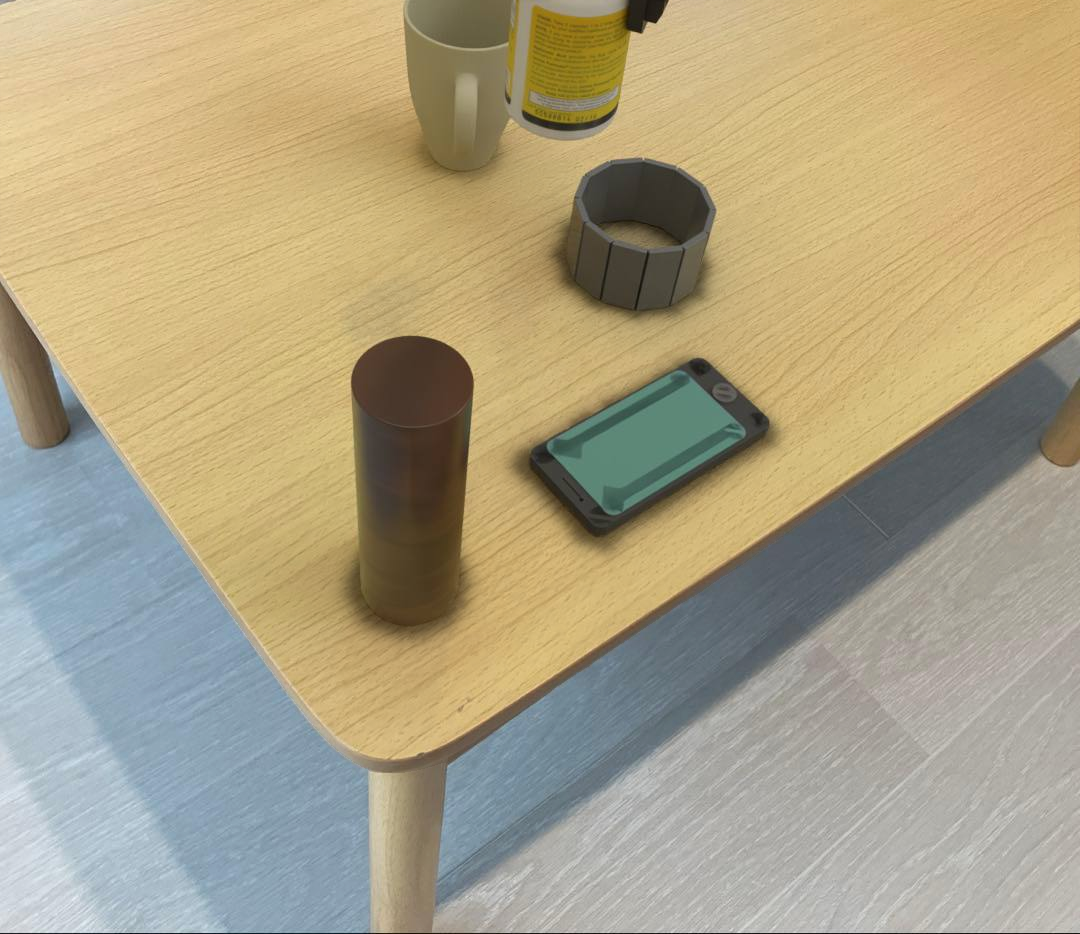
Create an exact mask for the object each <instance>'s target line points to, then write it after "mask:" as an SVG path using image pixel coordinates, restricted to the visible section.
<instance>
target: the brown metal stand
mask: <svg viewBox="0 0 1080 934" xmlns="http://www.w3.org/2000/svg"><path fill="white" fill-rule="evenodd" d="M474 390H475V380H474V374H473V371H472V369H471V366H470V364H469V363H468V360H466V359H465V357H464V356H463V355H462V354H461V353H460V352H459V351H457V349H455V348H454V347H453V346H451V345H449V344H448V343H446V342H443V341H441V340H438V339H436V338H432V337H429V336H422V335H400V336H394V337H391V338H386V339H385V340H381V341H379V342H377V343H376V344H374V345H372V346H371V347H369V348H368V349H367V350H365V352H363V353H362V354H361V355H360V357H359V358H358V360H357V361H356V363H355V364H354V367H353V369H352V372H351V376H350V395H351V415H352V416H351V417H352V433H353V435H352V437H353V453H354V474H355V493H356V495H355V496H356V497H355V498H356V514H357V515H356V516H357V517H356V518H357V534H358V536H357V537H358V554H359V555H358V556H359V574H360V575H359V576H360V588H361V590H360V591H361V593H362V597H363V599H364V601H365V603H366V605H367V606H368V607H369V608H370V609H371V611H372V612H374V614H376V615H377V616H379V617H380V618H381V619H384V620H385V621H388V622H390V623H393V624H397V625H404V626H416V625H421V624H425V623H428V622H431V621H433V620H436V619H437V618H439V617H440V616H442V615H443V614H444V613H445V612H446V611H447V610H448V609H449V608H450V607H451V605H452V604H453V602H454V601H455V598H456V596H457V594H458V591H459V579H460V569H461V568H460V567H461V555H462V541H463V529H464V518H465V506H466V505H465V504H466V491H467V478H468V468H469V467H468V466H469V453H470V442H471V427H472V414H473V403H474V402H473V401H474Z"/></svg>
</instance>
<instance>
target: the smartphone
mask: <svg viewBox="0 0 1080 934" xmlns="http://www.w3.org/2000/svg"><path fill="white" fill-rule="evenodd" d="M770 423H771V421H770V419H769V418H768V416H767V415H765V413H764V412H762V411H761V410H760V409H759V408H758V407H757V406H756V405H755V404H754V403H753V402H752V401H751V400H750V399H748V398H747V397H746V395H744V394H743V393H742V392H741V391H740V390H739V389H738V388H736V387H735V385H734V384H732V383H731V382H730V381H729V380H728V379H727V377H725V376H724V375H723V374H722V373H721V372H720V371H718V369H716V368H715V367H714V365H712V364H711V363H710V361H707V359H705V358H702V357H694V358H692V359H690V360H689V361H686V362H685V363H683V364H681V365H679V366H678V367H676V368H674V369H672V370H671V371H669V372H667V373H665V374H664V375H662V376H660V377H658V378H655V379H654V380H653V381H651V382H649V383H647V384H645V385H644V386H641V387H640V388H638V389H636V390H634V391H632V392H631V393H629V394H627V395H625V396H624V397H622V398H620V399H618V400H616V401H614V402H612V403H610V404H608V405H607V406H605V407H603V408H601V409H599V410H598V411H596V412H594V413H592V415H590V416H587V417H585V418H582V420H579V421H578V422H576V423H574V424H572V425H571V426H569V427H567V428H566V429H563V430H562V431H560V432H558V433H557V434H555V435H553V436H550V437H549V438H548V439H546V440H545V441H542V442H541V443H539V444H536V445H535V446H534V447H532V449H530V455H529V461H528V465H529V468H530V469H531V470H532V471H533V472H534V473H535V474H536V476H538V478H539V479H541V481H542V482H543V483H544V484H545V486H547V488H548V489H549V490H550V491H551V492H552V493H553V494H554V495H555V496H556V498H558V500H559V501H560V502H561V503H562V504H563V505H564V506H565V507H566V509H568V511H570V512H571V513H572V515H573V516H574V517H575V518H576V519H577V520H578V521H579V522H580V523H581V525H582V526H583V527H584V528H585V529H586V530H587V531H588V532H589V534H592V535H593V536H596V537H602V536H603V537H604V536H606V535H608V534H609V533H610V532H613V531H614V530H615V529H617V528H619V527H620V526H622V525H623V524H626V523H627V522H628V521H630V520H632V519H633V518H635V517H637V516H638V515H640V514H641V513H643V512H644V511H646V510H648V509H649V508H651V507H653V506H654V505H656V504H658V503H659V502H661V501H662V500H664V499H666V498H667V497H669V496H670V495H672V494H674V493H676V492H677V491H679V490H680V489H682V488H684V487H685V486H686V485H688V484H690V483H692V482H693V481H695V480H696V479H698V478H700V477H702V476H703V475H704V474H706V473H708V472H709V471H711V470H713V469H714V468H716V467H717V466H719V465H720V464H722V463H724V462H726V461H727V460H729V459H731V458H732V457H733V456H736V455H737V454H739V453H740V452H742V451H744V450H745V449H746V448H748V447H750V446H751V445H753V444H755V443H756V442H758V441H759V440H761V439H763V438H764V437H766V435H767V432H768V431H769V427H770Z"/></svg>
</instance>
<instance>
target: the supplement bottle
mask: <svg viewBox="0 0 1080 934" xmlns="http://www.w3.org/2000/svg"><path fill="white" fill-rule="evenodd" d="M630 2H631V0H512V7H511V19H510V31H509V44H508V56H507V67H506V79H505V106H506V109H507V111H508V113H509V115H510V116H511V117H510V119H512V120H513V121H514V122H515V123H516V124H517V125H518V126H519V127H521V128H522V129H524V130H526V131H527V132H529V133H531V134H533V135H536V136H538V137H542V138H544V139H548V140H553V141H561V142H562V141H563V142H573V141H581V140H585V139H589V138H591V137H594V136H596V135H598V134H600V133H602V132H603V131H605V130H606V129H607V128H608V127H609V126H610V125H611V124H612V123H613V121H614V120H615V118H616V115H617V113H618V112H617V111H618V108H619V102H620V99H621V92H622V85H623V80H624V75H625V74H624V73H625V69H626V63H627V56H628V52H629V51H628V50H629V46H630V43H629V42H630V39H631V38H630V37H631V33H632V31H629V30H626V26H627V20H628V14H629V8H630Z"/></svg>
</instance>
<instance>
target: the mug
mask: <svg viewBox="0 0 1080 934" xmlns="http://www.w3.org/2000/svg"><path fill="white" fill-rule="evenodd" d="M511 7H512V0H404V3H403V7H402V8H403V9H402V15H403V27H404V28H403V29H404V43H405V44H404V45H405V57H406V70H407V71H406V72H407V79H408V80H407V81H408V87H409V92H410V98H411V100H412V101H411V102H412V105H413V108H414V111H415V114H416V118H417V120H418V123H419V126H420V129H421V131H422V134H423V137H424V139H425V142H426V146H427V149H428V151H429V154H430V156H431V158H432V159H433V160H434V162H436V163H437V164H438V165H440V166H441V167H443V168H446V169H448V170H450V171H451V170H452V171H456V172H457V171H458V172H468V171H469V172H470V171H475V170H478V169H481V168H483V167H484V166H485V165H487V164H488V163H489V162H490V160H491V158H492V156H493V154H494V153H495V151H496V148H497V146H498V145H499V142H500V140H501V137H502V135H503V134H504V131H505V130H506V127H507V125H508V123H509V121H510V119H511V116H510V115H509V113H508V111H507V109H506V106H505V79H506V67H507V56H508V44H509V31H510V19H511Z"/></svg>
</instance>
